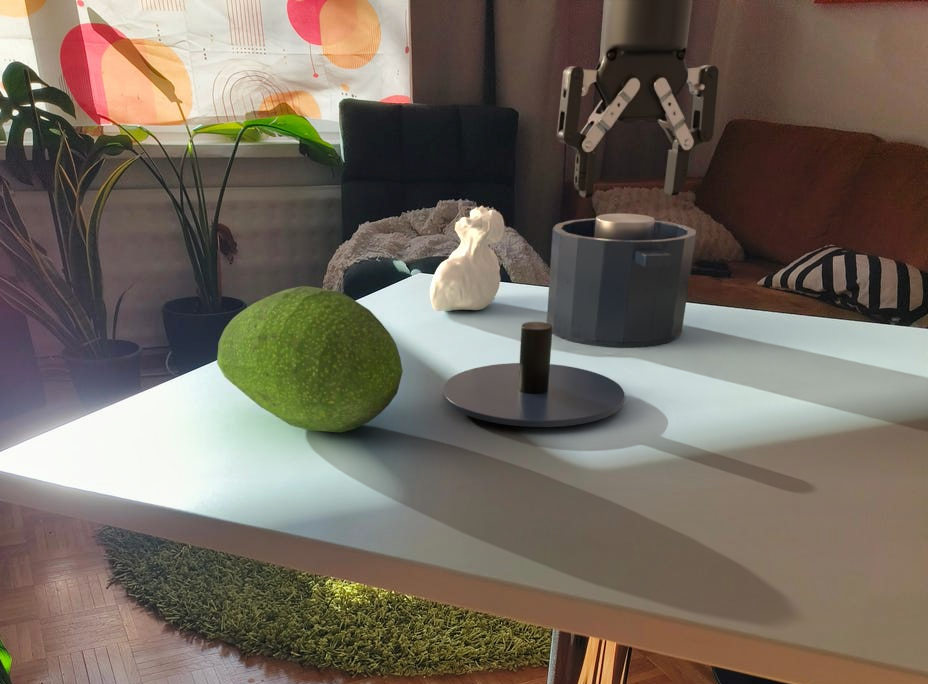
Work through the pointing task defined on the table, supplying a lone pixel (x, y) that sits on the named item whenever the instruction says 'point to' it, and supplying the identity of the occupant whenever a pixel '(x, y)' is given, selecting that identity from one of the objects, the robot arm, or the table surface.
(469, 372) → the lid
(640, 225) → the can
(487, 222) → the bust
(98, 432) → the table surface
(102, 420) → the table surface
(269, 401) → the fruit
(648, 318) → the pot
